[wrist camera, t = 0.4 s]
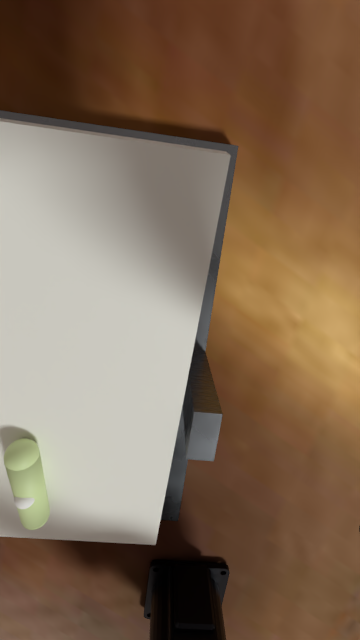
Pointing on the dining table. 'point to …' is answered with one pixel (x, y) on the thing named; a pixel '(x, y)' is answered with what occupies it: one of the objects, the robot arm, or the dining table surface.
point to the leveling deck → (97, 324)
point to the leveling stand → (200, 393)
